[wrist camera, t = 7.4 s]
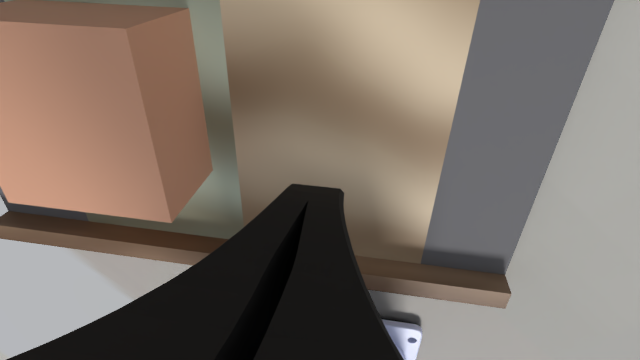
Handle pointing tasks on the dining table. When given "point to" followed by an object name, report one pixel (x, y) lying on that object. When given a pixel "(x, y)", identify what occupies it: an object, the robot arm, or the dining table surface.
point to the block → (100, 108)
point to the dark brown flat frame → (313, 134)
